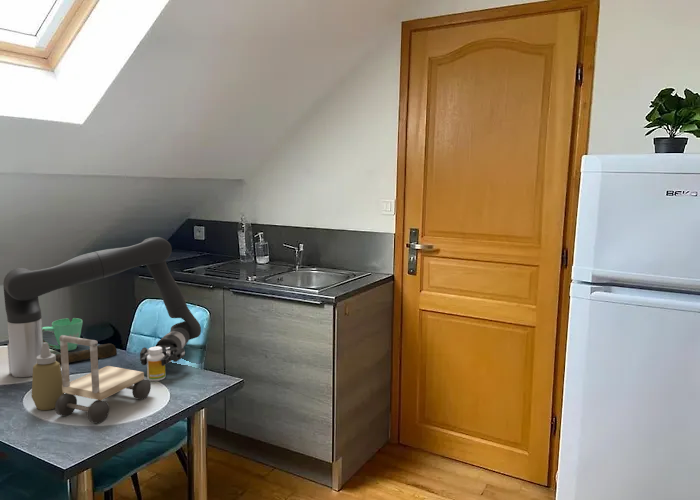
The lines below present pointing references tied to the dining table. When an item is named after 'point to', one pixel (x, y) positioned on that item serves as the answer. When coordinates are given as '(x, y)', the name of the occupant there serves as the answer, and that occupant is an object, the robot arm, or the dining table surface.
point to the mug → (65, 331)
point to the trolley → (96, 383)
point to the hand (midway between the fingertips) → (153, 362)
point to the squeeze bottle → (46, 380)
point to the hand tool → (102, 350)
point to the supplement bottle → (155, 364)
